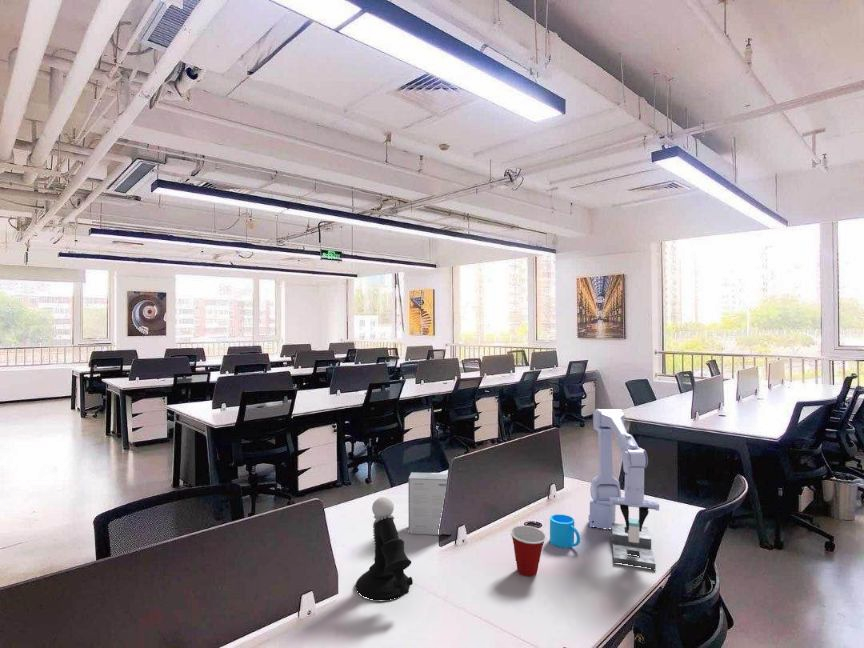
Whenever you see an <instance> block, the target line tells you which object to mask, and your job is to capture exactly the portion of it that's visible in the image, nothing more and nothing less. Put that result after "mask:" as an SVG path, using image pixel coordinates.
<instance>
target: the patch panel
mask: <svg viewBox="0 0 864 648" xmlns="http://www.w3.org/2000/svg"><path fill="white" fill-rule="evenodd" d="M610 531H611V534H612V536H611V546H613V548H612V556H613V557H612V559H613V558H614V560H613V564H614V563H622V564H628V565H633V566H641V567H647V568H651V569H655V570H656V565H657V564H656V560H655V557H654V552H653V548H652V537H651V534H650V529H649V527H646V526H642V530H641V532H640V531H639V543H635V542H629V539H628V530H627V529H626V523H625V524H624V523H617V522H616V523H612V530H610ZM627 554H631V555H637V556H639V557H633V556H627Z"/></svg>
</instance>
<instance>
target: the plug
mask: <svg viewBox="0 0 864 648" xmlns="http://www.w3.org/2000/svg"><path fill="white" fill-rule="evenodd" d="M628 539H629V542H635V543H639V518H633V517H629V530H628Z"/></svg>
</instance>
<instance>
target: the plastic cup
mask: <svg viewBox="0 0 864 648" xmlns="http://www.w3.org/2000/svg"><path fill="white" fill-rule="evenodd" d="M510 535H511V538H512V543H513V550H514V551H513V552H514V557H515V562H516V570H517V573H519V575H521V576H525V577H534V576H537V575H536V574H537V573H538V569H539V565H540V560H541V556H542V550H543V546H544V544H545V541H546V540H547V535H546V533H545V532H544V531H543V530H541V529H539V528H537V527H534V526H531V525H516V526H513V527H512V528H511V529H510ZM533 575H534V576H533Z"/></svg>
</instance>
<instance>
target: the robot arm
mask: <svg viewBox="0 0 864 648" xmlns="http://www.w3.org/2000/svg"><path fill="white" fill-rule="evenodd" d="M592 419H593V421H592V422H593V430H595V431H597V438H598V440H597V441H598V443H597V444H598V445H597V446H598V474H597V475H596V476H595V477H593V478H592V479H591V481H590V482H591V483H590V490H589V491H590V497H591V499H589V514H588V520H589V526H590V527H589V528H591V527H593V526H594V527H597V528H596V529H598V528H606V529H609V528H611V529H612V523H615V522H616V506H619V507H620V508H619V509H620V510H621V511H620V512H621V513H622V516H623V518H624V521H625V525H626V529H627V530H629V518H630V509H629V508H630V507H631V508H637V509H638V520H639V531H640V532H641V530H642V527H644V526H643V525H644V523H645V521H646V518H647V517H648V515H649V511H650V510H653V511H654V510H655V511H657V512H658V511H660V503H659V502H658V501H657V502H655V501H650V500H647V499H645V469H646V468H647V467H648V464H649V459H648V453H647V451H646V450H645V449H644V448H642V447H639V445H638V443H637V441H636V440H635V438H634V436H633V435H632V434H630V433H628V431H627V429H626V426H625V422H626V415H625V413H624V410H623V409H621V408H617V409H614V408H613V409H609V408H608V409H607V408H606V409H605V408H603V409H602V408H601V409H600V408H596V409H595V410H594V412H593V415H592ZM613 434H614V435H615V436H616V440H615V441H616V442H615V444H616V446H618V448H619V450H620V454H621V460H622V467H623V468H622V469H623V472H624V497H622V492H621V485H620V481H619V480H618V479H617V477H614V476H613V475H614V474H613V438H612V437H613ZM606 529H605V530H606Z"/></svg>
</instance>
